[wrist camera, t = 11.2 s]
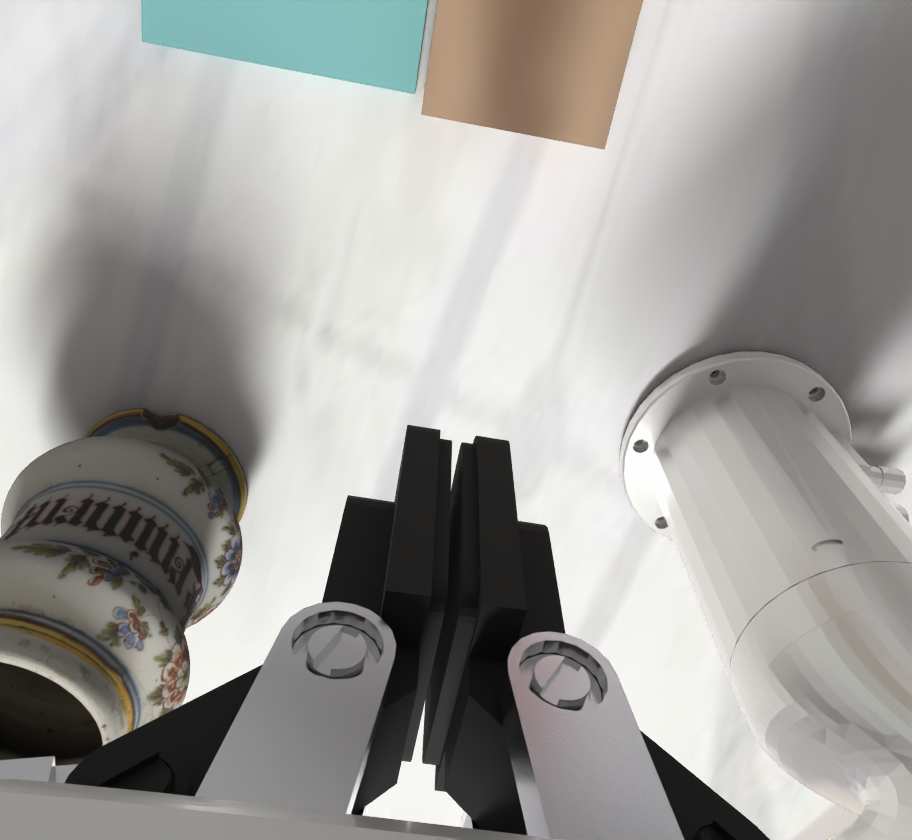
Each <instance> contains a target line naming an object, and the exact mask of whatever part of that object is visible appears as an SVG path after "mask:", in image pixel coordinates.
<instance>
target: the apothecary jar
mask: <svg viewBox="0 0 912 840" xmlns="http://www.w3.org/2000/svg"><path fill="white" fill-rule="evenodd" d="M246 501H247V486H246V480H245V476H244V473H243V470H242V468H241V466H240V464H239V462H238V460H237V458H236V456H235V455H234V453H233V452H232V451H231V449H230V448H229V447H228V446H227V445H226V443H225V442H224V441H223V440H222V439H221V438H220V437H219V436H217V435H216V434H215V433H214V432H212V431H211V430H210V429H208V428H207V427H205V426H204V425H202V424H200V423H198V422H197V421H194V420H192V419H190V418H188V417H186V416H183V415H175V416H164V417H158V416H155V415H153V414H151V413H150V412H148V411H147V410H146V409H134V410H128V411H123V412H120V413H117V414H114V415H111V416H109V417H107V418H105V419H104V420H103V421H101V422H100V423H99V424H97V425H96V426H95V427H94V428H93V429H92V430H91V431H90V432H89V434H88V435H87V436H86V438H83V439H79V440H75V441H71V442H68V443H65V444H62V445H60V446H58V447H56V448H53V449H51V450H49V451H48V452H46V453H44V454H42V455H41V456H39V457H38V458H36V459H35V460H34V461H32V462H31V463H30V464H29V465H28V466H27V467H26V468H25V469H24V470H23V471H22V472H21V473H20V474H19V476H18V477H17V478H16V480H15V481H14V483H13V485H12V486H11V488H10V490H9V492H8V494H7V497H6V500H5V503H4V506H3V511H2V518H1V533H2V537H1V538H0V760H11V759H24V758H36V757H49V756H54V758H55V766H61V765H73V764H79V763H80V762H81V761H82V760H83V759H84V758H85V757H87V756H88V755H90V754H91V753H93V752H94V751H96V750H97V749H99V748H100V747H102V746H103V745H105V744H107V743H109V742H111V741H113V740H115V739H117V738H119V737H121V736H123V735H125V734H127V733H129V732H131V731H133V730H135V729H137V728H139V727H141V726H142V725H144V724H146V723H148V722H150V721H152V720H154V719H156V718H158V717H160V716H162V715H164V714H166V713H168V712H170V711H172V710H174V709H176V708H178V707H180V706H181V705H182V702H183V700H184V698H185V695H186V691H187V687H188V683H189V675H190V658H189V651H188V646H187V642H186V638H185V635H184V631H185V629H186V628H188V627H189V626H191V625H193V624H196V623H198V622H199V621H200V620H201V619H203V618H204V617H206V616H207V615H208V614H210V613H211V612H212V611H213V610H214V609H215V608H217V606H218V605H219V604H220V603H221V602H222V601H223V600H224V598H225V597H226V596H227V594H228V593H229V591H230V590H231V588H232V586H233V584H234V582H235V580H236V578H237V575H238V572H239V569H240V565H241V559H242V536H241V531H240V526H239V521H240V520H241V518H242V516H243V513H244V510H245V507H246Z"/></svg>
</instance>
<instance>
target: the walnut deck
mask: <svg viewBox="0 0 912 840" xmlns="http://www.w3.org/2000/svg"><path fill="white" fill-rule="evenodd" d="M642 2H643V0H438V2H437V9H436V16H435V23H434V30H433V37H432V44H431V50H430V57H429V64H428V71H427V78H426V85H425V92H424V99H423V106H422V112H421V114H422V115H427V116H432V117H437V118H443V119H448V120H453V121H458V122H464V123H469V124H474V125H479V126H485V127H490V128H495V129H500V130H506V131H511V132H516V133H521V134H527V135H532V136H537V137H542V138H548V139H553V140H558V141H563V142H569V143H574V144H579V145H584V146H590V147H595V148H600V149H605V145H606V141H607V137H608V134H609V130H610V126H611V122H612V118H613V114H614V110H615V107H616V103H617V99H618V95H619V91H620V87H621V83H622V79H623V76H624V72H625V68H626V64H627V60H628V56H629V52H630V48H631V45H632V41H633V37H634V33H635V29H636V25H637V21H638V18H639V14H640V10H641V6H642Z"/></svg>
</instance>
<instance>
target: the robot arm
mask: <svg viewBox="0 0 912 840" xmlns="http://www.w3.org/2000/svg"><path fill="white" fill-rule="evenodd" d="M715 370H717V371H716V373H714V374H711V373H712V372H714V371H715ZM637 440H640V441H637ZM851 442H852V433H851V425H850V418H849V416H848V413H847V411H846V408H845V406H844V403H843V401H842V400H841V398H840V397H839V396H838V394H837V393H836V391H835V390H834V389H833V387H832V386H831V385H830V384H829V383H828V382H827V381H826V380H825V379H824V378H823V377H822V376H821V375H820V374H819V373H817V372H816V371H814V370H813V369H811V368H810V367H808V366H807V365H805V364H803V363H802V362H799V361H797V360H794V359H791V358H789V357H786V356H784V355H779V354H773V353H767V352H762V351H755V352H734V353H728V354H723V355H717V356H714V357H711V358H708V359H705V360H702V361H699V362H697V363H694V364H692V365H690V366H688V367H686V368H684V369H683V370H681V371H679V372H677V373H675V374H674V375H672V376H671V377H669V378H668V379H667V380H666V381H664V382H663V383H662V384H660V385H659V386H658V387H657V388H655V389H654V390H653V391H652V393H651V394H650V395H649V396H648V397H647V398H646V399H645V400H644V401H643V402H642V404H641V405H640V406H639V408H638V409H637V411H636V412H635V414H634V416H633V417H632V419H631V420H630V422H629V424H628V427H627V430H626V432H625V435H624V437H623V440H622V446H621V452H620V458H619V460H620V475H621V479H622V483H623V486H624V490H625V493H626V495H627V497H628V500H629V502H630V504H631V507H632V508H633V510H634V511H635V512H636V514H637V515H638V516H639V518H640V519H641V520H642V522H644V523H645V524H646V525H647V526H648V527H649V528H650V529H651V530H653V531H654V532H655V533H657V534H659V535H661V536H662V537H664V538H666V539H668V540H670V541H672V542H675V545H676V547H677V550H678V552H679V555H680V557H681V560H682V562H683V565H684V567H685V570H686V572H687V575H688V578H689V580H690V583H691V585H692V588H693V590H694V593H695V595H696V598H697V600H698V603H699V605H700V608H701V610H702V613H703V615H704V618H705V621H706V623H707V626H708V628H709V631H710V633H711V636H712V638H713V641H714V643H715V646H716V648H717V651H718V653H719V656H720V658H721V661H722V664H723V666H724V669H725V671H726V674H727V676H728V679H729V681H730V684H731V686H732V689H733V691H734V694H735V696H736V699H737V701H738V704H739V706H740V709H741V711H742V714H743V716H744V718H745V720H746V722H747V724H748V726H749V728H750V730H751V732H752V733H753V735H754V736H755V738H756V739H757V741H758V742H759V744H760V745H761V747H762V748H763V749H764V751H765V752H766V753H767V754H768V755H769V756H770V757H771V758H772V759H773V760H774V761H775V762H776V763H777V765H778V766H779V767H781V768H782V769H783V770H784V771H785V772H786V773H787V774H789V775H790V776H792V777H793V778H794V779H796V780H797V781H798V782H800V783H801V784H803V785H804V786H805V787H807V788H809V789H810V790H812V791H813V792H815V793H817V794H819V795H820V796H822V797H824V798H826V799H827V800H829V801H831V802H833V803H835V804H837V805H839V806H841V807H843V808H845V809H847V810H849V811H851V812H853V813H855V814H857V815H859V818H858V819H857V820H856V821H855V822H854V823H852V824H851V825H850V826H849V827H847V828H846V829H844V830H843V831H841V832H839V833H837V834H836V835H834V836H832V837H831V838H829V839H827V840H912V526H911V525H910V524H909V519H908V513H907V511H906V509H905V508H904V507H902V506H900V505H895V504H892V503H891V502H890V501H889V500H888V498H887V497H886V496H885V495H884V494H883V493H882V492H884V493H890V494H898V493H900V492H901V491H902V490H903V489H904V486H905V483H906V481H905V474H904V472H903V471H902V470H900V469H895V468H889V467H883V466H869V465H868V464H867V463H866V462H865V461H864V460H863V459H862V457H861V456H860V455H859V454H858V453H857V452H856V451H855V449H854V448H853V447H852V446H851ZM451 459H452V441H451V440H444V439H440V430H437V429H431V428H424V427H418V426H412V425H407V431H406V436H405V442H404V448H403V454H402V460H401V466H400V472H399V478H398V484H397V490H396V496H395V502H389V501H383V500H376V499H369V498H363V497H356V496H349V495H348V497H347V501H346V505H345V509H344V513H343V517H342V521H341V526H340V530H339V534H338V538H337V542H336V546H335V551H334V555H333V559H332V563H331V567H330V572H329V576H328V580H327V584H326V588H325V592H324V597H323V601H322V603H319V604H316V605H313V606H310V607H307V608H304V609H302V610H301V611H299V612H298V613H296V614H295V615H293V616H292V617H290V619H289V620H288V621H287V622H286V624H285V625H284V626H283V628H282V629H281V631H280V633H279V635H278V637H277V639H276V640H275V642H274V644H273V646H272V648H271V650H270V652H269V654H268V656H267V658H266V660H265V662H264V664H263V665H261V666H259V667H257V668H255V669H253V670H251V671H249V672H247V673H245V674H243V675H241V676H239V677H237V678H235V679H233V680H231V681H229V682H227V683H225V684H223V685H221V686H219V687H217V688H216V689H214V690H212V691H210V692H208V693H206V694H204V695H202V696H200V697H198V698H196V699H194V700H192V701H190V702H188V703H186V704H184V705H182V706H180V707H178V708H176V709H174V710H172V711H170V712H168V713H166V714H164V715H162V716H160V717H158V718H156V719H154V720H152V721H150V722H148V723H146V724H144V725H142V726H141V727H139V728H137V729H135V730H133V731H131V732H129V733H127V734H125V735H123V736H121V737H119V738H117V739H115V740H113V741H111V742H109V743H107V744H105V745H103V746H102V747H100V748H99V749H97V750H96V751H94V752H93V753H91V754H90V755H88V756H87V757H85V758H84V759H83V760H82V761H81V762H80V763H79V764H73V765H61V766H55V758H54V756H49V757H36V758H24V759H11V760H0V840H770V839H769V838H768V837H767V836H766V835H765V834H764V833H763V832H762V831H761V830H760V829H759V828H758V827H757V826H756V825H754V824H753V823H752V822H751V821H750V820H748V819H747V818H746V817H745V816H744V815H742V814H741V813H740V812H739V811H737V810H736V809H735V808H734V807H733V806H731V805H730V804H729V803H728V802H727V801H725V800H724V799H723V798H722V797H720V796H719V795H718V794H717V793H716V792H714V791H713V790H712V789H711V788H710V787H708V786H707V785H706V784H705V783H703V782H702V781H701V780H700V779H699V778H697V777H696V776H695V775H694V774H693V773H691V772H690V771H689V770H688V769H686V768H685V767H684V766H683V765H682V764H680V763H679V762H678V761H677V760H676V759H674V758H673V757H672V756H671V755H669V754H668V753H667V752H666V751H665V750H663V749H662V748H661V747H660V746H659V745H657V744H656V743H655V742H654V741H652V740H651V739H650V738H649V737H648V736H646V735H645V734H644V733H643V732H642V731H640V730H639V727H638V725H637V722H636V720H635V717H634V715H633V713H632V710H631V708H630V705H629V703H628V700H627V698H626V695H625V693H624V690H623V688H622V686H621V683H620V681H619V678H618V676H617V674H616V672H615V670H614V669H613V667H612V665H611V664H610V662H609V661H608V660H607V659H606V658H605V657H604V656H603V655H602V654H601V653H600V652H599V651H598V650H597V649H596V648H594V647H593V646H591V645H589V644H588V643H586V642H585V641H583V640H581V639H578V638H576V637H573V636H570V635H568V634H565V629H564V623H563V616H562V610H561V604H560V598H559V592H558V586H557V580H556V573H555V567H554V561H553V555H552V549H551V543H550V536H549V532H548V528H547V527H546V526H545V525H541V524H535V523H528V522H521V521H518V519H517V510H516V500H515V491H514V481H513V471H512V462H511V452H510V444H509V441H506V440H500V439H493V438H487V437H481V436H476V437H475V439H474V442H473V444H470V443H463V442H462V443H461V446H460V450H459V455H458V460H457V464H456V469H455V474H454V479H453V484H452V488H451ZM425 698H426V700H425ZM424 703H425V718H424V736H423V754H422V762H423V763H424V764H432V765H436V770H435V790H437V791H445V792H447V793H448V794H449V795H450V796H451V797H452V798H453V799H454V800H455V801H456V803H457V804H458V805H459V806H460V807H461V808H462V809H463V810H464V811H463V815H462V827H454V826H445V825H437V824H428V823H420V822H411V821H403V820H394V819H386V818H377V817H369V816H365V811H366V806H367V805H368V804H369V803H371V802H372V801H373V800H375V799H376V798H377V797H379V796H380V795H382V794H383V793H384V792H386V791H387V790H388V789H390V788H391V787H393V786H394V785H395V784H397V780H398V775H399V770H400V766H401V761H408V762H411V760H412V756H413V751H414V747H415V742H416V738H417V734H418V729H419V725H420V720H421V716H422V711H423V707H424Z"/></svg>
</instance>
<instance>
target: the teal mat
mask: <svg viewBox="0 0 912 840" xmlns="http://www.w3.org/2000/svg"><path fill="white" fill-rule="evenodd" d="M427 5H428V0H141V6H142V42H147V43H152V44H157V45H163V46H168V47H173V48H178V49H183V50H189V51H194V52H199V53H204V54H209V55H215V56H220V57H225V58H230V59H235V60H241V61H246V62H251V63H256V64H261V65H267V66H272V67H277V68H282V69H287V70H293V71H298V72H303V73H308V74H313V75H319V76H324V77H329V78H334V79H339V80H345V81H350V82H355V83H360V84H365V85H371V86H376V87H381V88H386V89H391V90H397V91H402V92H407V93H412V94H415V91H416V84H417V77H418V70H419V62H420V55H421V48H422V41H423V34H424V27H425V19H426V12H427Z"/></svg>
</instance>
